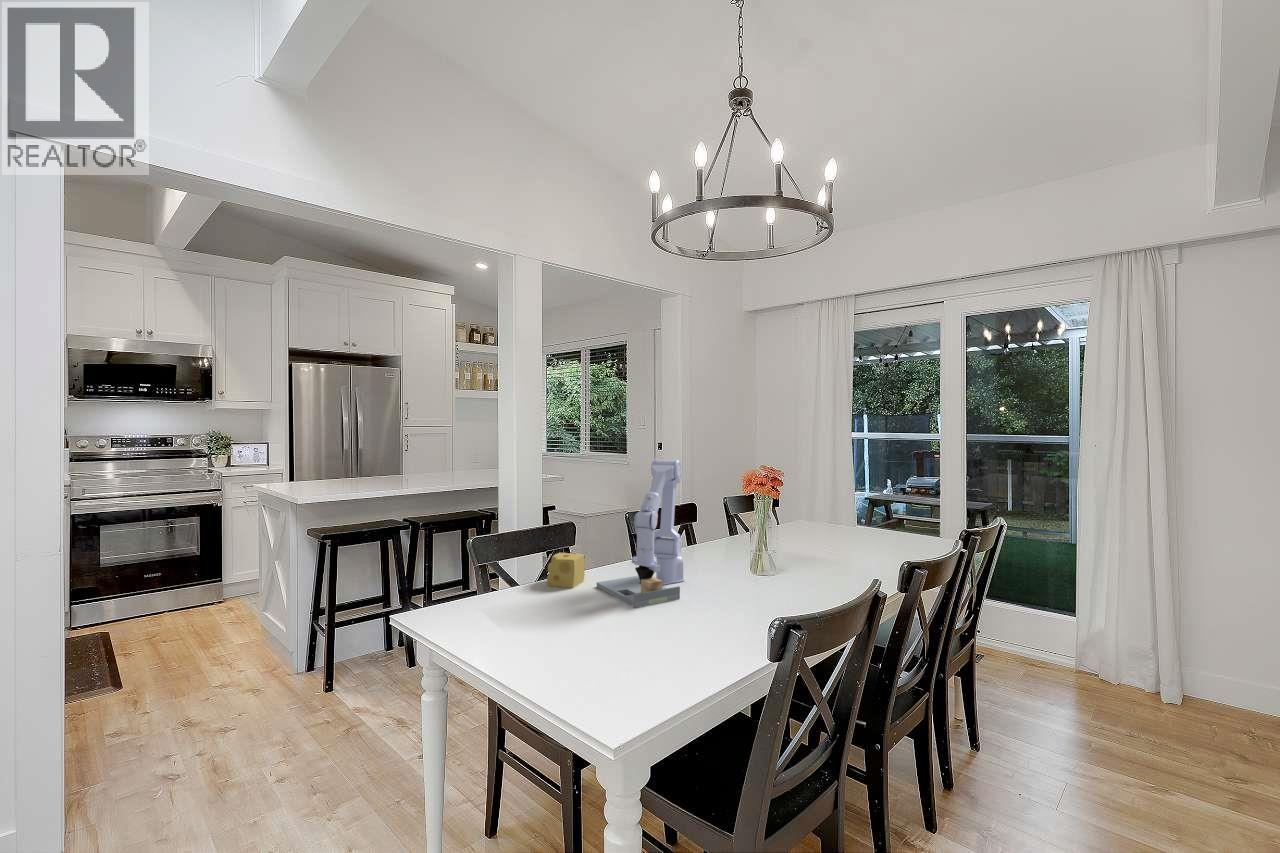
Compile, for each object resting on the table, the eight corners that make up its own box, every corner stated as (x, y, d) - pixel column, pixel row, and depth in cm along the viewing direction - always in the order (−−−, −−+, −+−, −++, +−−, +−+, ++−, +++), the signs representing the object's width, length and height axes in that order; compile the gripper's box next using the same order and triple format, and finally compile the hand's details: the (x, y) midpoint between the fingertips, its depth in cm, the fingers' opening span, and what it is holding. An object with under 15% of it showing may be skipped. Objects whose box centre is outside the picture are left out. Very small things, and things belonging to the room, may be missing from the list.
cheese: (546, 586, 206) (546, 557, 206) (559, 578, 216) (559, 551, 216) (574, 589, 203) (574, 560, 203) (586, 580, 213) (586, 553, 213)
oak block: (653, 592, 194) (653, 577, 194) (662, 596, 190) (662, 580, 190) (640, 594, 191) (640, 579, 191) (649, 598, 187) (649, 583, 187)
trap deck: (638, 579, 214) (638, 569, 214) (679, 598, 192) (679, 586, 192) (596, 586, 205) (596, 575, 205) (635, 607, 183) (635, 594, 183)
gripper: (624, 545, 198) (623, 585, 198) (647, 553, 186) (647, 596, 186) (641, 542, 202) (641, 582, 202) (665, 551, 189) (665, 593, 190)
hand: (645, 589), depth 194 cm, fingers closed
